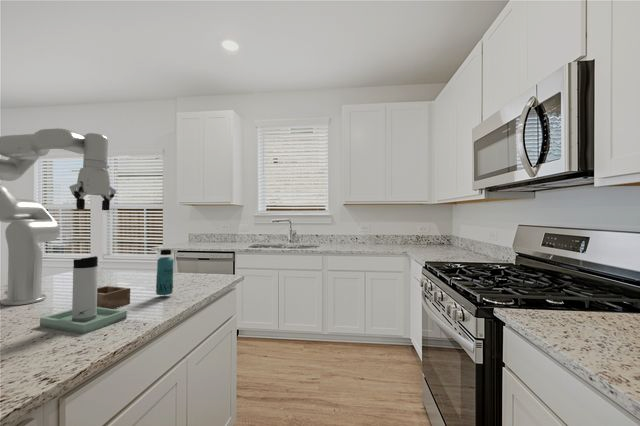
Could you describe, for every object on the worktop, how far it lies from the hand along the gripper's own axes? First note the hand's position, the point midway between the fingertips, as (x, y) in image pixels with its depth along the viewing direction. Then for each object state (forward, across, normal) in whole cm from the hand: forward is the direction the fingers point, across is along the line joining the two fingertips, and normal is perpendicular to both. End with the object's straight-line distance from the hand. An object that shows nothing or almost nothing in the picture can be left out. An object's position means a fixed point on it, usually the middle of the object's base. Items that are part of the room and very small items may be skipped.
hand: (93, 209), depth 120 cm
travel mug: (+35, +16, +20) cm, 43 cm away
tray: (+36, +16, +20) cm, 44 cm away
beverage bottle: (+36, -17, +20) cm, 44 cm away
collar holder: (+36, +1, +10) cm, 37 cm away
